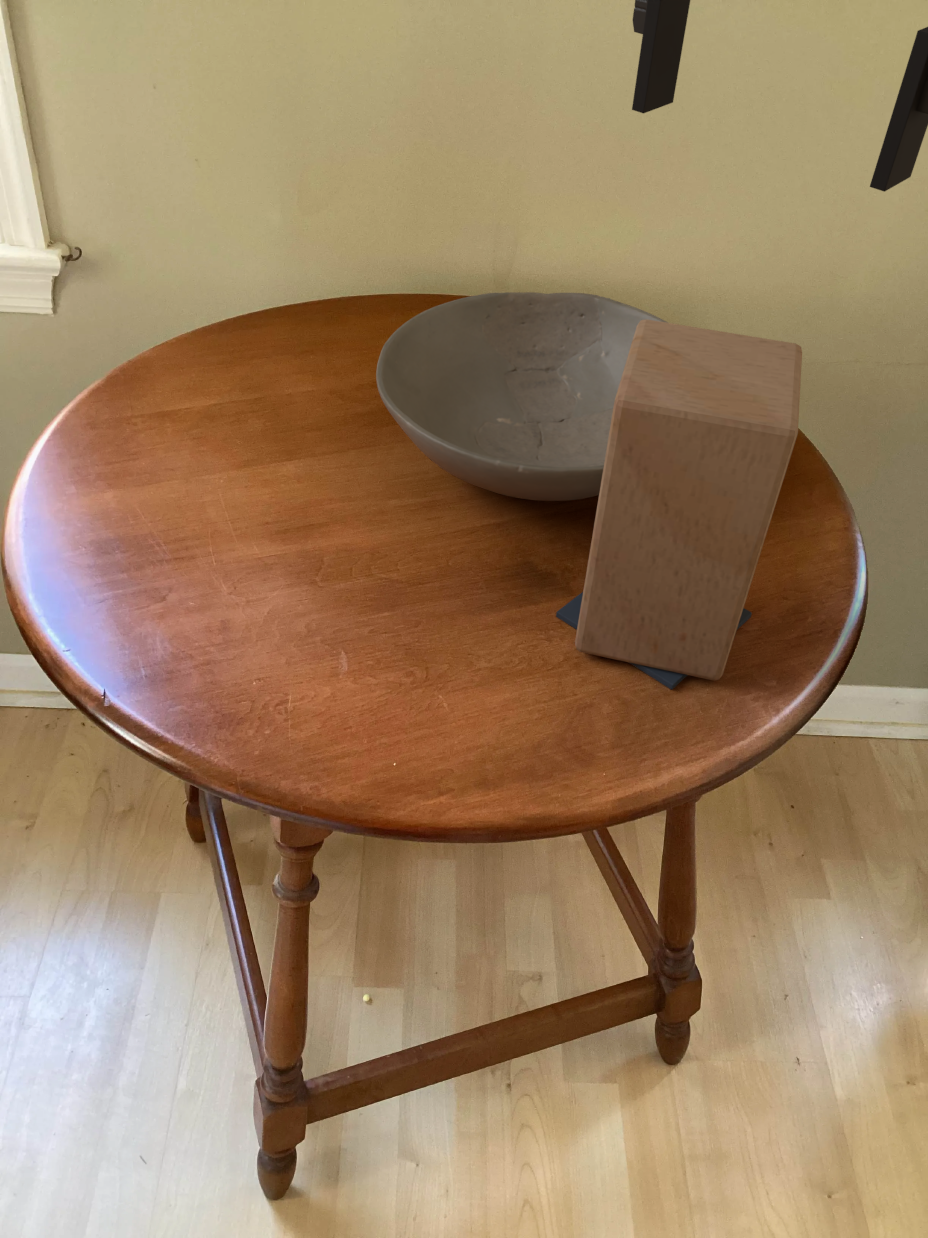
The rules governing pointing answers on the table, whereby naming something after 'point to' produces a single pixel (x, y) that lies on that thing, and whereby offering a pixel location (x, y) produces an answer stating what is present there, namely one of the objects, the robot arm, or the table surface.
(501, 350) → the bowl
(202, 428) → the table surface
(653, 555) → the wooden block
